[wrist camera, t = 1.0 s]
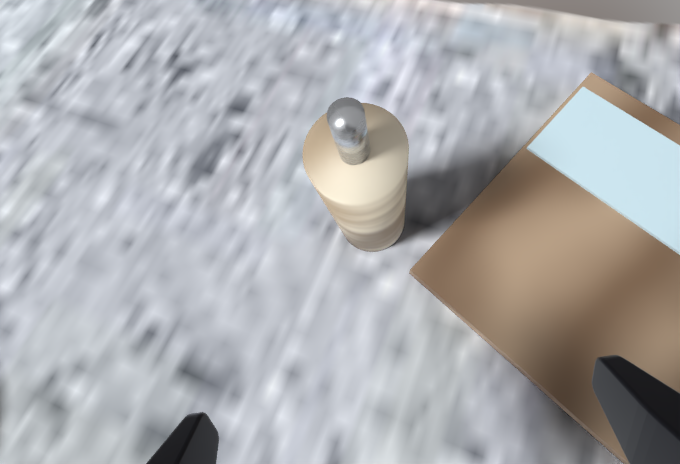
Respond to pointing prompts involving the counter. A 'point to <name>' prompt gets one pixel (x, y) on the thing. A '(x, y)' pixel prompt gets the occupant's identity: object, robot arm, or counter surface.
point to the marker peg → (360, 171)
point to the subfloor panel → (574, 252)
